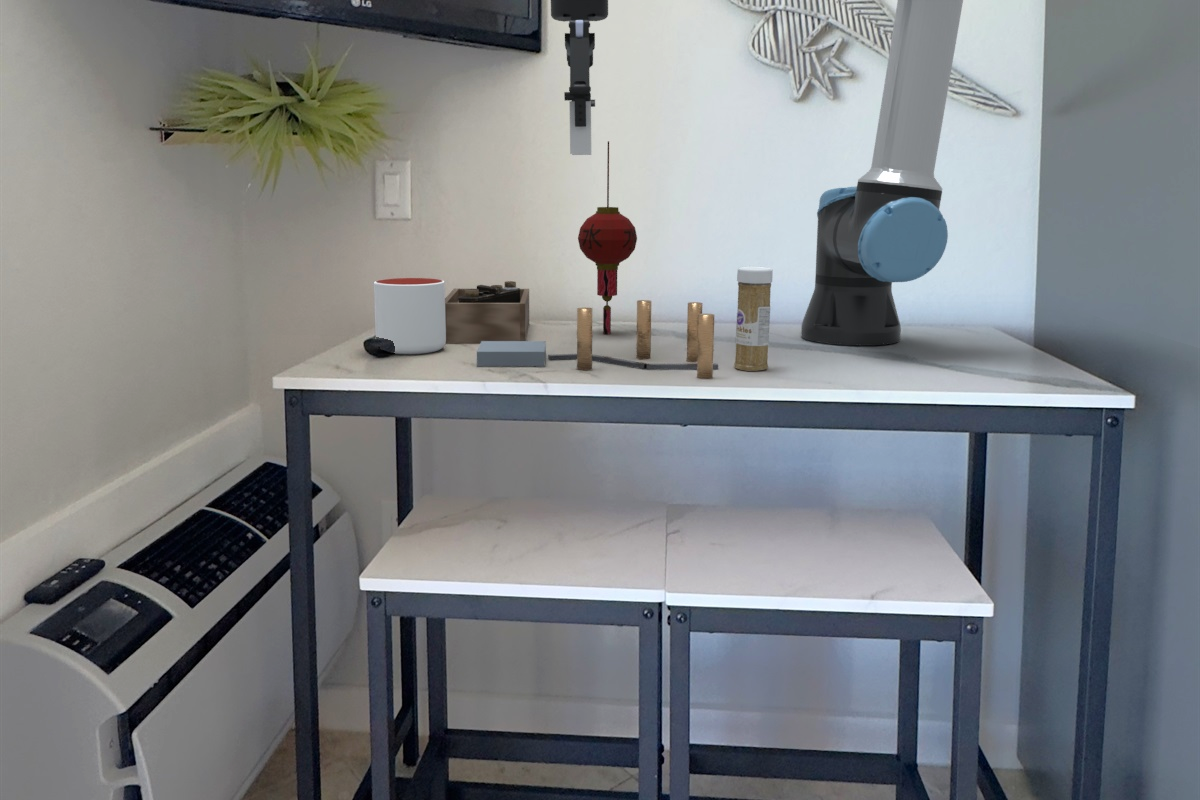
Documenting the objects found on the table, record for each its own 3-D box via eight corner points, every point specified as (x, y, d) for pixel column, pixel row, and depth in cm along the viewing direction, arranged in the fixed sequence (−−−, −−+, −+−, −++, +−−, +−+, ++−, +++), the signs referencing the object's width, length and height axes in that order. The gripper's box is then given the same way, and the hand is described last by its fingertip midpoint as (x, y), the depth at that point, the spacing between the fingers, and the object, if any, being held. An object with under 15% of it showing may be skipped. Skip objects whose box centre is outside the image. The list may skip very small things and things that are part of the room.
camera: (491, 326, 182) (490, 279, 181) (526, 329, 180) (526, 280, 178) (439, 340, 168) (437, 288, 166) (477, 343, 165) (476, 290, 163)
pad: (545, 355, 154) (545, 341, 154) (544, 366, 146) (544, 351, 145) (481, 355, 154) (481, 341, 154) (476, 366, 145) (476, 351, 145)
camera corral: (529, 324, 185) (529, 288, 184) (525, 343, 165) (525, 303, 164) (454, 323, 184) (454, 288, 183) (441, 343, 164) (440, 303, 163)
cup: (432, 357, 152) (430, 285, 150) (365, 354, 154) (362, 283, 152) (455, 346, 162) (454, 278, 160) (392, 343, 164) (389, 277, 162)
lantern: (600, 327, 181) (601, 142, 175) (647, 333, 176) (650, 141, 170) (565, 334, 174) (565, 140, 167) (614, 340, 168) (615, 140, 162)
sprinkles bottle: (727, 368, 145) (730, 266, 143) (750, 364, 148) (754, 265, 145) (752, 373, 142) (756, 269, 139) (776, 369, 145) (780, 267, 142)
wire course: (708, 356, 154) (710, 300, 152) (725, 378, 138) (727, 315, 136) (548, 356, 153) (548, 299, 151) (546, 378, 137) (546, 315, 136)
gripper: (553, 1, 154) (556, 155, 159) (546, -29, 130) (549, 153, 134) (606, 1, 154) (607, 154, 159) (609, -30, 130) (610, 153, 134)
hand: (581, 154), depth 147 cm, fingers open, 13 cm apart
